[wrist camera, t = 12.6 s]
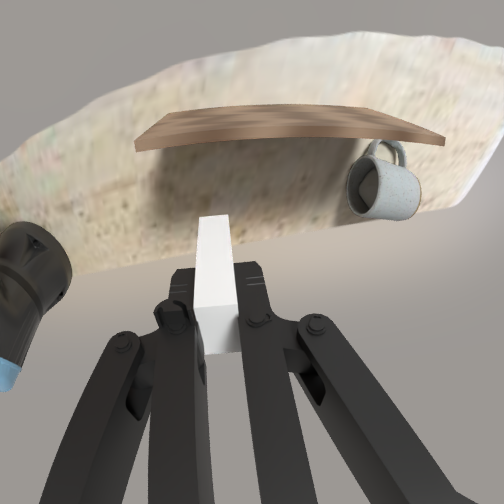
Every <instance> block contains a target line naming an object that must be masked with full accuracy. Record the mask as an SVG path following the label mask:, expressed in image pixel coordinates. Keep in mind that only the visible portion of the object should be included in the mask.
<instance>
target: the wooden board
mask: <svg viewBox="0 0 504 504" xmlns="http://www.w3.org/2000/svg"><path fill="white" fill-rule="evenodd" d="M282 137H342V138H365V139H381V140H394V141H405V142H415V143H423V144H431V145H439V146H444V145H445V138H446V137H443V136H441V135H439V134H436V133H434V132H432V131H429V130H427V129H424V128H422V127H419V126H417V125H414V124H412V123H409V122H406V121H404V120H401V119H398V118H395V117H392V116H390V115H387V114H384V113H381V112H377V111H374V110H371V109H368V108H358V107H346V106H330V105H301V104H276V105H247V106H230V107H218V108H207V109H198V110H189V111H182V112H174V113H169V114H167V115H166V116H165V117H163V118H162V119H161V120H159V121H158V122H157V123H156V124H154V125H153V126H152V127H151V128H149V129H148V130H147V131H146V132H144V133H143V134H142V135H141V136H140V137H138V138H137V139H136V140H135V141H134V143H135V149H136V152H141V151H147V150H153V149H159V148H166V147H173V146H181V145H189V144H197V143H207V142H217V141H228V140H242V139H258V138H282Z"/></svg>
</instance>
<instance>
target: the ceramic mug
mask: <svg viewBox="0 0 504 504" xmlns="http://www.w3.org/2000/svg"><path fill="white" fill-rule="evenodd" d="M381 141H384V142H386V143H388V144H390V145H391V146H392V147H395V149H396V151H397V153H398V158H399V166H398V165H394V164H392V163H389V162H387V161H384V160H381V159H378V158H376V157H375V152H376V150H377V147H378V145H379V143H380V142H381ZM406 166H407V158H406V153H405V150H404V148H403V146H402V145H401V143H400V142H399V141H394V140H381V139H374V140H373V141H372V142H371V144H370V146H369V149H368V152H367V155H365V156H362V157H360V158H358V159H357V160H356V162H355V163H354V164H353V166H352V168H351V170H350V173H349V176H348V180H347V187H346V189H347V200H348V204H349V206H350V209H351V210H352V212H353V213H354V214H356V215H357V216H359V217H367V218H376V219H386V220H394V221H401V220H406V219H409V218H411V217H412V216H413V215H414V214H415V213H416V211H417V210H418V208H419V205H420V201H421V194H422V193H421V186H420V182H419V180H418V178H417V177H416V176H415V175H414V174H413V173H412V172H411V171H409V170H407V169H406Z"/></svg>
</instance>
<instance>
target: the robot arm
mask: <svg viewBox="0 0 504 504" xmlns="http://www.w3.org/2000/svg"><path fill="white" fill-rule="evenodd" d="M71 279H72V271H71V265H70V262H69V259H68V257H67V255H66V253H65V251H64V249H63V248H62V246H61V245H60V244H59V242H58V241H57V240H56V239H55V238H54V237H53V236H52V235H51V234H50V233H49V232H48V231H46V230H45V229H43V228H42V227H40V226H38V225H36V224H33V223H30V222H16V223H13V224H11V225H10V226H9V227H8V228H7V229H6V230H5V231H4V232H3V233H2V234H1V236H0V392H6V391H9V390H10V389H11V388H12V387H13V385H14V383H15V381H16V378H17V376H18V374H19V372H21V368H22V365H23V363H24V360H25V357H26V354H27V352H28V349H29V347H30V344H31V342H32V339H33V337H34V335H35V332H36V330H37V327H38V325H39V323H40V321H41V319H42V317H43V315H44V314H45V313H46V312H47V311H49V309H51V308H52V307H53V306H54V305H55V304H57V303H58V302H59V301H60V300H61V299H62V298H63V297H64V295H65V294H66V291H67V290H68V288H69V286H70V283H71ZM153 313H154V315H155V318H156V321H157V323H158V326H159V329H157V330H156V331H154V332H152V333H150V334H147V335H144V336H140V337H138V336H137V335H136V334H135V333H133V332H131V331H123V332H120V333H117V334H116V335H114V336H113V337H112V338H111V339H110V340H109V342H108V343H107V345H106V347H105V349H104V351H103V353H102V355H101V357H100V359H99V361H98V363H97V365H96V367H95V369H94V371H93V373H92V375H91V377H90V379H89V381H88V383H87V385H86V387H85V389H84V392H83V394H82V396H81V398H80V400H79V402H78V404H77V407H76V409H75V411H74V413H73V416H72V418H71V420H70V422H69V425H68V427H67V430H66V432H65V435H64V437H63V439H62V441H61V444H60V446H59V449H58V452H57V454H56V457H55V459H54V462H53V465H52V467H51V470H50V473H49V476H48V478H47V482H46V484H45V487H44V490H43V493H42V496H41V499H40V502H39V504H122V500H123V497H124V494H125V490H126V487H127V484H128V480H129V477H130V473H131V470H132V467H133V464H134V461H135V457H136V454H137V451H138V448H139V445H140V441H141V439H142V436H143V432H144V430H145V427H146V423H147V421H148V417H149V415H150V412H151V415H150V416H151V417H150V432H149V459H148V504H215V503H214V492H213V482H212V469H211V456H210V440H209V425H208V424H209V423H208V402H207V376H206V364H205V360H204V351H205V354H219V353H230V352H240V351H241V352H242V361H243V370H244V377H245V386H246V394H247V402H248V409H249V418H250V425H251V434H252V441H253V449H254V455H255V462H256V470H257V477H258V484H259V490H260V498H261V503H262V504H318V502H317V498H316V494H315V489H314V484H313V480H312V475H311V470H310V466H309V461H308V458H307V452H306V448H305V444H304V440H303V435H302V430H301V426H300V421H299V417H298V413H297V408H296V404H295V400H294V395H293V391H292V387H291V382H290V378H289V373H288V372H293V373H294V375H295V376H296V378H297V380H298V382H299V384H300V385H301V387H302V389H303V390H304V392H305V394H306V396H307V397H308V399H309V401H310V403H311V404H312V406H313V408H314V410H315V411H316V413H317V415H318V416H319V418H320V420H321V421H322V423H323V425H324V427H325V429H326V430H327V432H328V433H329V435H330V437H331V439H332V440H333V442H334V444H335V445H336V447H337V449H338V451H339V452H340V454H341V456H342V457H343V459H344V460H345V462H346V464H347V465H348V467H349V469H350V471H351V472H352V474H353V475H354V477H355V479H356V480H357V482H358V484H359V485H360V487H361V489H362V490H363V492H364V493H365V495H366V497H367V498H368V500H369V502H370V503H371V504H477V503H475V502H474V501H472V500H470V499H468V498H466V497H465V496H463V495H461V494H460V493H458V492H456V491H455V489H454V488H453V487H452V485H451V483H450V482H449V480H448V479H447V478H446V476H445V475H444V473H443V472H442V470H441V469H440V467H439V466H438V465H437V463H436V462H435V460H434V459H433V457H432V456H431V455H430V453H429V452H428V450H427V449H426V447H425V446H424V445H423V443H422V442H421V440H420V439H419V438H418V436H417V435H416V433H415V432H414V431H413V429H412V428H411V426H410V425H409V424H408V422H407V421H406V419H405V418H404V417H403V415H402V414H401V413H400V411H399V410H398V408H397V407H396V406H395V404H394V403H393V402H392V400H391V399H390V397H389V396H388V395H387V393H386V392H385V391H384V389H383V388H382V386H381V385H380V384H379V383H378V381H377V380H376V378H375V377H374V376H373V374H372V373H371V372H370V370H369V369H368V368H367V366H366V365H365V364H364V362H363V361H362V360H361V358H360V357H359V356H358V354H357V353H356V352H355V350H354V349H353V348H352V346H351V345H350V344H349V342H348V341H347V340H346V338H345V337H344V336H343V335H342V333H341V332H340V330H339V329H338V328H337V326H336V325H335V324H334V323H333V321H332V320H330V319H329V318H328V317H326V316H324V315H322V314H309V315H306V316H304V317H303V318H301V320H300V321H299V322H297V321H289V320H285V319H282V318H280V317H278V316H277V315H275V314H274V312H273V311H272V309H271V307H270V303H269V298H268V294H267V290H266V286H265V281H264V277H263V272H262V268H261V267H260V266H259V265H258V264H257V263H256V262H255V261H252V262H243V263H233V258H232V248H231V238H230V229H229V219H228V215H217V216H207V217H199V229H198V241H197V255H196V268H187V269H177V270H176V272H175V273H174V274H173V276H172V278H171V284H170V291H169V297H168V299H166V300H164V301H162V302H161V303H159V304H158V305H157V306H156V308H155V310H154V312H153Z"/></svg>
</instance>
